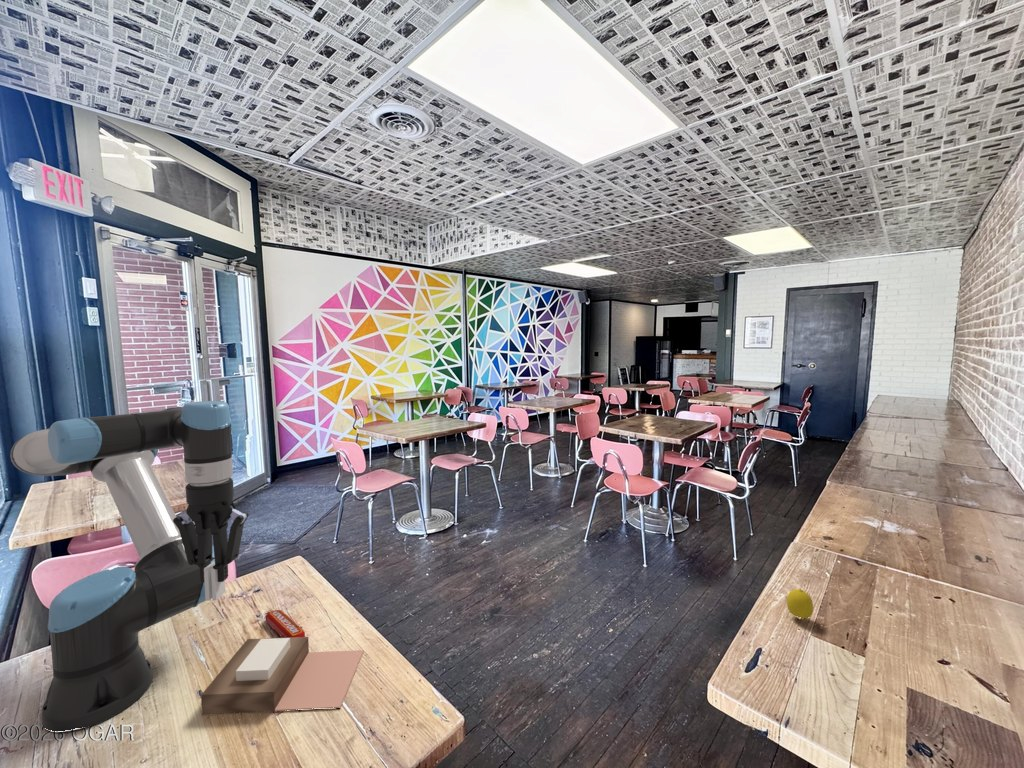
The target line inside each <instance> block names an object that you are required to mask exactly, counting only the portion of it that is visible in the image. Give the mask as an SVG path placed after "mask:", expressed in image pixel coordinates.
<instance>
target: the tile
mask: <svg viewBox="0 0 1024 768" xmlns="http://www.w3.org/2000/svg"><path fill="white" fill-rule="evenodd" d="M273 638H274V639H262V638H260V639H261V640H260V641H259V642H258V644H257V645H256V646H255V647H254V649H253V650H252V651H251V652H250V654H249V655H248V656H247V657H246V659H245V660H244V661H243V663H242V664H241V665H240V666H239V668H238V669H237V670H236V681H248V680H269V678H270V677H271V675H272V674H273V672H274V671H275V669H276V668H277V666H278V665H279V663H280V662H281V660H282V659H283V657H284V656H285V654H286V653H287V651H288V650H289V648H290V638H282V637H273Z"/></svg>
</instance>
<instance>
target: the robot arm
mask: <svg viewBox="0 0 1024 768" xmlns="http://www.w3.org/2000/svg"><path fill="white" fill-rule="evenodd" d="M232 446H233V445H232V417H231V413H230V405H229V403H228V402H225V401H222V400H216V401H215V400H202V401H201V400H200V401H193V402H186V403H185V404H184V405H183V406H182V407H181V406H178V407H177V406H176V407H167V408H163V409H162V410H154V411H153V410H152V411H145V412H144V411H143V412H134V413H125V414H116V415H115V414H114V415H104V416H103V415H102V416H91V417H75V418H70V419H65V420H58V421H55V422H53V423H52V424H51V425H50V427H49V428H45V429H41V430H36V431H34V432H30V433H27V434H25V435H24V436H22V437H21V438H20V439H18V440H17V441H15V443H14V444H13V446H12V447H11V450H10V454H9V455H10V461H11V462H12V464H13V466H14V467H15V468H16V469H17V470H19V471H20V472H23V473H25V474H29V475H32V476H42V477H58V476H61V477H62V476H68V475H76V474H82V473H87V472H91V474H92V477H93V478H94V479H95V480H96V481H98V482H103V483H105V484H106V486H107V488H108V490H109V493H110V495H111V497H112V499H113V501H114V504H115V505H116V508H117V510H118V512H119V515H120V517H121V519H122V521H123V524H124V526H125V527H126V530H127V533H128V534H129V537H130V539H131V542H132V544H133V547H134V548H135V550H136V552H137V555H138V557H139V559H138V560H137V562H136V563H135V565H134V567H133V568H134V569H133V568H131V567H128V566H120V567H119V566H118V567H113V568H112V569H105V570H100V571H97V572H94V573H92V574H90V575H87V576H85V577H83V578H80V579H79V580H76V581H75V582H73V583H70V584H69V585H68V586H66V587H65V588H63V589H62V590H61V591H60V592H59V593H58V594H56V596H55V597H54V598H53V599H52V601H51V602H50V604H49V608H48V609H49V610H48V623H47V629H48V631H49V638H50V639H49V640H50V651H51V661H52V662H51V663H52V680H51V682H50V686H49V688H48V691H47V694H46V698H45V701H44V703H43V705H42V708H41V725H43V726H44V728H46V729H48V730H52V731H65V730H71V729H75V728H82V727H87V728H89V727H88V726H90V727H92V726H94V725H95V726H96V725H97V724H100V723H102V722H104V721H106V720H109V719H110V718H112V717H114V716H116V715H118V714H119V713H121V712H123V711H125V710H126V709H127V708H128V707H130V706H132V705H134V703H135V702H137V701H138V700H139V699H140V698H141V697H142V696H143V695H144V694H145V693H146V692H148V689H149V688H150V686H151V684H152V682H153V668H152V663H151V662H150V660H148V659H147V658H146V656H145V653H144V651H143V649H142V648H141V645H140V642H139V633H140V632H141V631H143V630H145V629H147V628H149V627H152V626H155V625H157V624H159V623H161V622H164V621H165V620H167V619H169V618H172V617H174V616H176V615H179V614H181V613H182V612H185V611H187V610H191V609H192V608H196V607H197V606H199V605H200V604H202V603H204V602H207V601H211V600H212V601H218V600H219V599H220V598H221V597H222V596H223V595H224V594H225V593H226V583H225V581H226V580H227V579H228V577H229V564H231V563H232V562H233V561H235V560H236V559H237V558H238V557H239V553H240V547H241V543H242V541H241V540H242V538H243V532H244V526H245V522H246V521H247V519H248V517H249V516H250V515H249V513H248V512H247V511H244V512H241V511H240V510H238V509H236V508H237V507H236V505H235V503H234V500H233V498H234V495H235V494H234V480H233V478H232V477H233V475H234V467H233V454H232V453H233V451H232ZM174 447H182V448H183V457H184V458H183V462H184V477H185V478H184V479H185V482H186V483H187V485H185V497H186V498H185V501H186V502H185V503H186V504H188V505H187V508H186V509H185V512H184V513H182V514H179V515H178V516H177V515H176V513H175V511H174V509H173V506H172V505H171V503H170V501H169V499H168V497H167V495H166V493H165V492H164V489H163V488H162V486H161V483H160V481H159V479H158V478H157V476H156V474H155V472H154V469H153V468H152V465H153V464H154V463H155V462H154V461H155V459H156V457H157V456H158V454H159V450H163V449H168V448H174ZM230 518H231V520H230ZM229 520H230V523H231V525H230V529H229V533H228V530H227V529H228V527H229ZM43 726H42V727H43ZM44 728H43V729H44Z"/></svg>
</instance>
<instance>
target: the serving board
mask: <svg viewBox="0 0 1024 768" xmlns="http://www.w3.org/2000/svg"><path fill="white" fill-rule="evenodd" d="M274 638H275V637H270V638H269V637H268V638H267V637H266V638H264V637H263V638H247V639H246V640H245V641H244V643H243V644H242V645H241V646H240V648H239V649H238V650H237V651H236V652H235V653H234V655H233V656H232V657H231V658H230V660H228V661H227V663H226V664H225V665H224V666H223V668H222V669H221V670H220V671H219V673H218V674H217V675H216V677H214V678H213V679H212V681H211V682H210V683H209V684H208V686H207V687H206V688H205V690H204V691H203V692H202V693H201V695H200V701H201V702H200V703H201V704H200V705H201V715H202V716H213V715H215V716H216V715H217V716H218V715H232V714H233V715H234V714H235V715H236V714H237V715H238V714H239V713H240V714H256V713H257V714H258V713H275V712H274V711H275V708H276V707H277V705H278V703H279V702H280V700H281V698H282V697H283V695H284V693H285V692H286V690H287V688H288V686H289V685H290V683H291V681H292V680H293V678H294V676H295V675H296V673H297V671H298V670H299V668H300V666H301V665H302V663H303V661H304V659H305V658H306V656H307V654H308V653H309V652H310V649H309V648H310V647H309V636H305V637H290V648H289V650H288V651H287V653H286V654H285V656H284V657H283V659H282V660H281V662H280V663H279V665H278V666H277V668H276V669H275V671H274V672H273V674H272V675H271V677H270V678H269V680H248V681H236V670H237V669H238V668H239V666H240V665H241V664H242V663H243V661H244V660H245V659H246V657H247V656H248V655H249V654H250V652H251V651H252V650H253V649H254V647H255V646H256V645H257V644H258V642H259V641H260V640H261V639H274Z"/></svg>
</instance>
